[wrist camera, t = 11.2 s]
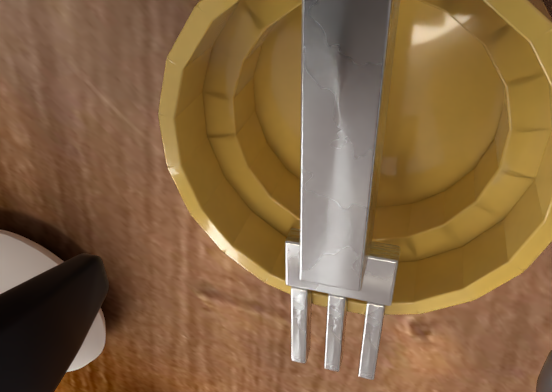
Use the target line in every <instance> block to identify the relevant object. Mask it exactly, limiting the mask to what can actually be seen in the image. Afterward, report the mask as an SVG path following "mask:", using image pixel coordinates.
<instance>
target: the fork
mask: <svg viewBox="0 0 552 392" xmlns="http://www.w3.org/2000/svg"><path fill="white" fill-rule="evenodd" d="M399 7H400V0H302V36H301V144H300V229H297V228H291V229H290V231H289V233H288V236H287V238H286V240H285V283H286V285H288V286H291V360H292V361H295V362H300V363H304V364H305V363H306V361H307V358H308V354H309V351H310V339H311V306H312V291H317V292H322V293H327V294H328V305H327V323H326V341H325V359H324V368H325V369H329V370H333V371H337V372H338V371H339V370H340V366H341V362H342V358H343V349H344V337H345V326H346V315H347V304H348V298H352V299H357V300H362V301H367V305H366V313H365V321H364V330H363V338H362V346H361V355H360V363H359V371H358V376H359V377H362V378H366V379H370V380H373V379H374V377H375V371H376V364H377V358H378V351H379V345H380V338H381V331H382V325H383V318H384V311H385V305H387V306H391V304H392V300H393V294H394V288H395V281H396V275H397V269H398V263H399V256H400V250H401V249H400V247H399V246H396V245H391V244H385V243H379V242H373V241H372V238H373V230H374V221H375V212H376V204H377V195H378V187H379V178H380V170H381V161H382V153H383V144H384V136H385V127H386V118H387V110H388V101H389V93H390V84H391V76H392V67H393V59H394V50H395V42H396V33H397V24H398V16H399Z"/></svg>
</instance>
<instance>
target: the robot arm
mask: <svg viewBox="0 0 552 392" xmlns="http://www.w3.org/2000/svg"><path fill="white" fill-rule="evenodd" d="M108 289H109V281H108V278H107V274H106V271H105V268H104V264H103V261H102V259H101V258H100V257H99V256H96V255H91V254H86V253H82V254H79V255H77V256H75V257H73V258H71V259H69V260H67V261H65V262H63V263H61V264H59V265H57V266H55V267H53V268H51V269H49V270H47V271H45V272H43V273H41V274H39V275H37V276H35V277H33V278H31V279H29V280H27V281H25V282H23V283H21V284H19V285H17V286H15V287H13V288H11V289H9V290H7V291H5V292H3V293H1V294H0V392H54V391H55V389H56V388H57V386H58V384H59V383H60V381H61V380H62V378H63V376H64V375H65V373H66V372H67V370H68V368H69V367H70V365H71V364H72V362H73V360H74V359H75V357H76V355H77V353H78V352H79V350H80V348H81V346H82V344H83V342H84V340H85V338H86V336H87V334H88V332H89V330H90V328H91V326H92V324H93V322H94V320H95V318H96V316H97V314H98V312H99V310H100V308H101V305H102V303H103V301H104V299H105V297H106V295H107V293H108ZM536 392H552V351H551V352H550V353H549V355H548V357H547V359H546V361H545V363H544V366H543V368H542V370H541V372H540V374H539V377H538V380H537V387H536Z"/></svg>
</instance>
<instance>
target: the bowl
mask: <svg viewBox="0 0 552 392" xmlns="http://www.w3.org/2000/svg"><path fill="white" fill-rule="evenodd" d="M301 36H302V0H200V1H199V2H198V4H197V5H195V7H194V9H193V11H192V13H191V14H190V16H189V18H188V20H187V22H186V23H185V25H184V27H183V29H182V30H181V32H180V34H179V36H178V38H177V39H176V41H175V43H174V45H173V47H172V48H171V50H170V52H169V54H168V56H167V60H166V65H165V71H164V78H163V84H162V91H161V97H160V103H159V110H158V113H159V114H158V118H159V124H160V130H161V136H162V142H163V148H164V154H165V160H166V165H167V168H168V170H169V172H170V175H171V177H172V179H173V181H174V183H175V185H176V187H177V189H178V191H179V193H180V195H181V197H182V199H183V201H184V203H185V205H186V207H187V209H188V211H189V212H190V215H191V216H192V217H193V218H194V219H195V220H196V222H197V223H198V224H199V225H200V226H201V227H202V229H203V230H204V231H205V232H206V233H207V235H208V236H209V237H210V238H211V239H212V240H213V242H214V243H215V244H216V245H217V246H218V247H219V249H220V250H221V251H224V253H225V254H226V255H227V256H229V257H230V258H231V259H233V260H234V261H235V262H237V263H238V264H240V265H241V266H242V267H244V268H245V269H246V270H248V271H249V272H250V273H252V274H253V275H254V276H256V277H257V278H259V279H260V280H261V281H263V282H265V283H266V284H268V285H270V286H273V287H275V288H277V289H279V290H282V291H284V292H286V293H288V294H291V286H288V285H286V283H285V240H286V238H287V236H288V233H289V231H290V229H291V228H297V229H300V144H301ZM372 241H373V242H379V243H385V244H391V245H396V246H399V247H400V249H401V250H400V256H399V263H398V269H397V275H396V281H395V288H394V294H393V300H392V304H391V306H387V305H385V311H384V315H395V314H418V313H419V314H423V313H427V312H431V311H435V310H439V309H442V308H446V307H450V306H454V305H458V304H462V303H466V302H470V301H473V300H476V299H478V298H479V297H481V296H483V295H485V294H486V293H488V292H490V291H492V290H493V289H495V288H497V287H499V286H500V285H502V284H504V283H506V282H507V281H509V280H511V279H513V278H515V277H516V276H518V275H520V274H522V273H523V272H524V270H526V269H527V268H528V267H529V266H530V265H531V264H532V263H533V262H534V261H535V259H536V258H537V257H538V256H539V255H540V254H541V253H542V252H543V251H544V250H545V249H546V247H547V246H548V245H549V244H550V243H551V242H552V18H551V16H550V14H549V12H548V10H547V8H546V6H545V4H544V3H543V1H542V0H400V7H399V16H398V24H397V33H396V42H395V50H394V59H393V67H392V76H391V84H390V93H389V101H388V110H387V118H386V127H385V136H384V144H383V153H382V161H381V170H380V178H379V187H378V195H377V204H376V212H375V221H374V230H373V238H372ZM312 303H313V304H315V305H319V306H324V307H327V305H328V294H327V293H322V292H317V291H312ZM366 305H367V301H362V300H357V299H352V298H348V304H347V311H348V312H353V313H358V314H365V313H366Z"/></svg>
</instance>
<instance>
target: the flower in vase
mask: <svg viewBox="0 0 552 392" xmlns="http://www.w3.org/2000/svg"><path fill="white" fill-rule="evenodd" d="M63 262H64V261H63V260H61V259H60V258H59V257H57V256H56V255H55V254H53V253H52V252H50V251H49V250H47V249H46V248H44V247H42V246H41V245H39V244H37V243H35V242H33V241H31V240H29V239H27V238H25V237H23V236H20V235H18V234H15V233H12V232H9V231H5V230H1V229H0V294H1V293H3V292H5V291H7V290H9V289H11V288H13V287H15V286H17V285H19V284H21V283H23V282H25V281H27V280H29V279H31V278H33V277H35V276H37V275H39V274H41V273H43V272H45V271H47V270H49V269H51V268H53V267H55V266H57V265H59V264H61V263H63ZM105 338H106V326H105V319H104V315H103V312H102V309H101V308H100V310H99V312H98V314H97V316H96V318H95V320H94V322H93V324H92V326H91V328H90V330H89V332H88V334H87V336H86V338H85V340H84V342H83V344H82V346H81V348H80V350H79V352H78V353H77V355H76V357H75V359H74V360H73V362H72V364H71V365H70V367H69V368H68V370H67V372H69V371H74V370H77V369H80V368H82V367H84V366H85V365H87V364H88V363H90V362H91V361H93V360H94V359H96V358H97V357H98V356H99V355H100V353H101V352H102V350H103V348H104V345H105Z"/></svg>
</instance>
